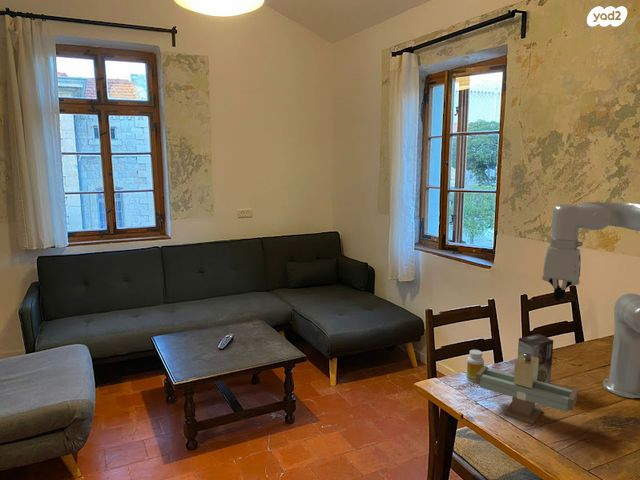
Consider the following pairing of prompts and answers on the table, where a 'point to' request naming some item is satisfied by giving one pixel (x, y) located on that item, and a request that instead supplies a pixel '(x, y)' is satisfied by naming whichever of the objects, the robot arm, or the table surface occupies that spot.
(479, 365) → the supplement bottle
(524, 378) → the block
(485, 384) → the beam
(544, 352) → the coffee box
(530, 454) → the table surface
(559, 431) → the table surface
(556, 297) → the robot arm
